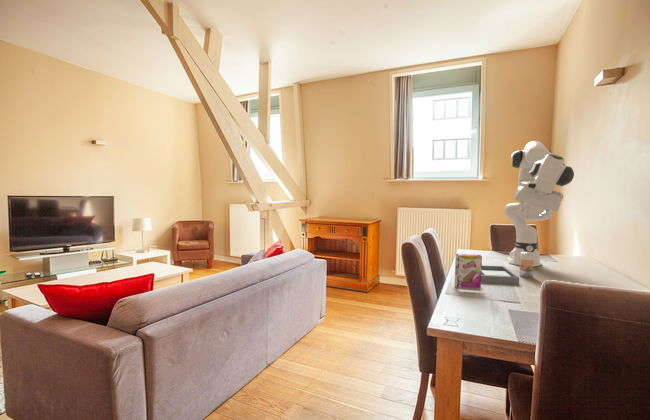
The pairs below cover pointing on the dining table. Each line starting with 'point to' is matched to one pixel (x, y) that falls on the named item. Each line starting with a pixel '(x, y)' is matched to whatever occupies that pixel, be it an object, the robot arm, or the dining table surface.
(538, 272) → the dining table surface
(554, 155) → the robot arm
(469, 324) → the dining table surface
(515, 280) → the tray
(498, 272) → the white rectangular block
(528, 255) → the steel tin
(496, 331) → the dining table surface
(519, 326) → the dining table surface
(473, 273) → the candy bar box
